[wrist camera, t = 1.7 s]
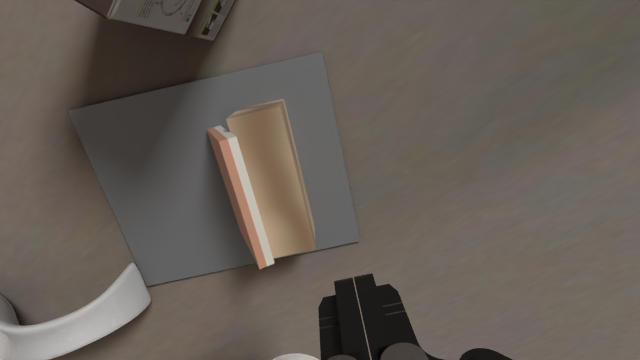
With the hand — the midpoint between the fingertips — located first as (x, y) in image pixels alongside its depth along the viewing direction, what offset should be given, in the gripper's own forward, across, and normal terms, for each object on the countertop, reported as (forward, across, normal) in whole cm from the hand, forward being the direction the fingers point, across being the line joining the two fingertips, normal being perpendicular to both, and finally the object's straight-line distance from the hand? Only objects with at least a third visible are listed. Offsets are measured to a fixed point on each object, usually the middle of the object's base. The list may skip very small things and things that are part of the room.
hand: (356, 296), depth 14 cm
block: (+20, +4, 0) cm, 20 cm away
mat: (+20, +10, 0) cm, 22 cm away
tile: (+16, +8, 0) cm, 17 cm away
